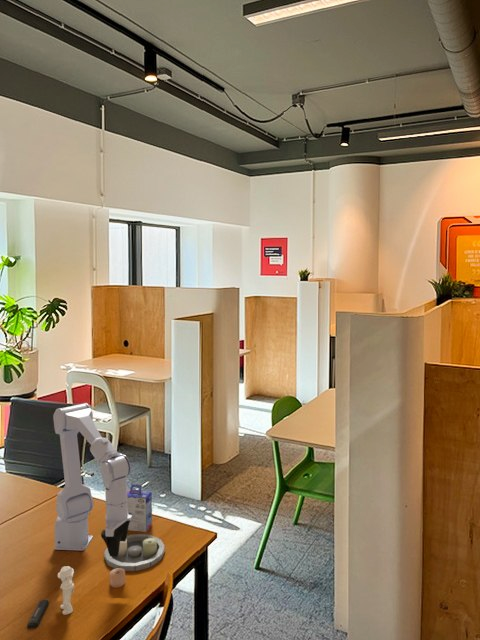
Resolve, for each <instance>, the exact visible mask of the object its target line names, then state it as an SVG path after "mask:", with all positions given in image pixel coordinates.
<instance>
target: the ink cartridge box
mask: <svg viewBox="0 0 480 640" xmlns="http://www.w3.org/2000/svg"><path fill="white" fill-rule="evenodd" d="M142 486H143V485H140V484H131V486H130V489H127V504H128V513H132V519H131V520H130V523H129V527H128V531H132V532H141V533H142V532H143V533H147V532H148V531H149V530H150V528H151V527H152V525H153V507H152V506H153V503H152V502H153V494H152V493H153V492H152V491H145V490H142ZM134 488H139V489H134Z"/></svg>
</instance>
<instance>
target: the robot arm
mask: <svg viewBox="0 0 480 640" xmlns="http://www.w3.org/2000/svg"><path fill="white" fill-rule="evenodd" d="M52 416H53V417H52V418H53V428H54V432H55V434H56V435H59V440H60V450H61V458H62V459H61V460H62V468H63V475H64V476H63V478H64V487H63V488H62V489H61V490H60V491H59V492H57V495H56V504H55V505H56V506H55V509H56V514H57V517H56V520H55V522H54V550H55V551H56V550H58V551H61V550H62V551H79V552H80V551H86V549H87V548H88V546H89V545H90V543H91V541H92V540H93V538H94V535H89V516H90V514H91V513H90V512H91V511H93V508H94V498H93V495H92V492H91V488H90V487H89V486H87V485H85V484H83V480H82V470H81V460H80V451H79V450H80V449H79V443H78V442H79V441H78V434H79V433H80V434H81V435H82V437H84V439H85V440H86V441H87V442H88V443H89V444H90V447H89V451H90V453H91V455H92V456H93V458H94V459H95V461H96V462H97V464H98V465H99V466H100V468H99V470H100V472H99V473H100V475H101V478H102V484H103V486H104V490H105V491H104V492H105V513H106V514H105V527H106V528H105V529H103V530H102V531H101V533H100V537H101V539H102V540H103V541H104V543H105V545H106V548H108V552H109V555H110V556H112V557H117V556H118V554H119V546H120V541H126V538H127V536H128V532H129V530H128V527H129V523H130V520H131V519H132V513H128V504H127V490H128V481H127V479H128V478H127V476H130V474H131V472H132V471H131V470H132V465H131V462H130V459H129V458H128V456H127V455H125V454H122V453H121V452H118V451H117V449H116V448H115V446H114V445H113V444H112V442H111V441H110V439H108V438H107V437H102V434H101V433H100V430H98V428H97V426H96V424H95V423H94V420H93V419H94V415H93V410H92V407H91V405H89V404H88V402H82V403H79V404H75V405H71V406H66V407H59V408H56V409H55V411H54V413H53V415H52Z"/></svg>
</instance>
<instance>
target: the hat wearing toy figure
mask: <svg viewBox="0 0 480 640" xmlns="http://www.w3.org/2000/svg"><path fill="white" fill-rule="evenodd" d="M74 573H75V570H74V568H73V567H71V566H69V565H67V566H65V565H64V566H61V569H60V571H59V572H58V573H57V578H58V579H60V580H61V584H60V587H59V588H60V590H62V603H63V604H60V606H59V607H60V609H61V610H62V612H61V613H62V615H65V616H66V615H69V614H72V613H73V611H74V610H73V606H72V605H71V600H72V599H71V597H72V594H74V588H75V583H74V582H73V577H74Z"/></svg>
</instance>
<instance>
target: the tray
mask: <svg viewBox="0 0 480 640" xmlns="http://www.w3.org/2000/svg"><path fill="white" fill-rule="evenodd" d="M148 538H153V539H156V541H157V554H156V555H154V556H153V557H151V558H145V557H144V556H143V541H144V540H145V539H148ZM126 539H127V554H126V555H125V556H122V557H112V556H110V555H109V552H108V548H107V547H106V549H105V550H104V552H103V554H104V557H103V558H104V560H105V562H106V564H107V566H108V567H111V568H112V569H116V568H122V569H124V570H125V572H136V571H141V570H142V571H143V570H145V569H149V568H151V567H154V566H155V565H156V564H158V562H160V561H162V559H163V557H164V555H165V552H166V545H165V544H164V542H163V541H162V539H161V538H159V537H157V536H154V535H151V534H145V533H143V534H142V533H134V534H129V535H128V534H127V538H126Z"/></svg>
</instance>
